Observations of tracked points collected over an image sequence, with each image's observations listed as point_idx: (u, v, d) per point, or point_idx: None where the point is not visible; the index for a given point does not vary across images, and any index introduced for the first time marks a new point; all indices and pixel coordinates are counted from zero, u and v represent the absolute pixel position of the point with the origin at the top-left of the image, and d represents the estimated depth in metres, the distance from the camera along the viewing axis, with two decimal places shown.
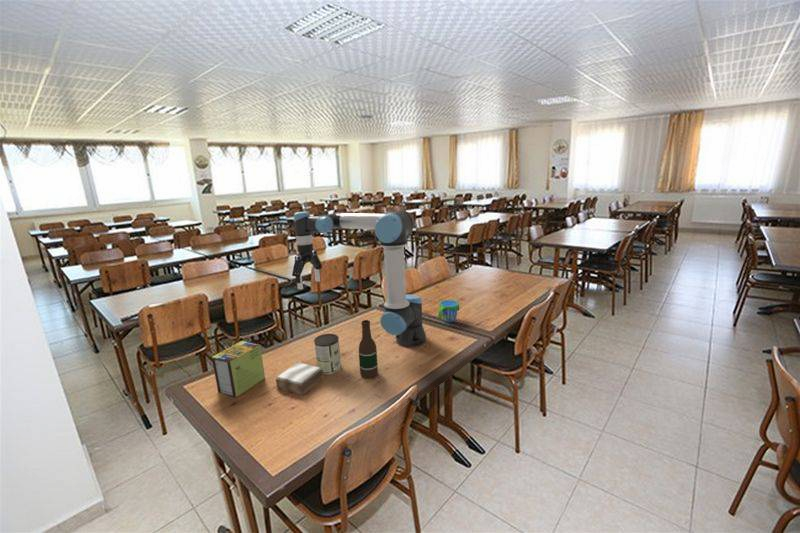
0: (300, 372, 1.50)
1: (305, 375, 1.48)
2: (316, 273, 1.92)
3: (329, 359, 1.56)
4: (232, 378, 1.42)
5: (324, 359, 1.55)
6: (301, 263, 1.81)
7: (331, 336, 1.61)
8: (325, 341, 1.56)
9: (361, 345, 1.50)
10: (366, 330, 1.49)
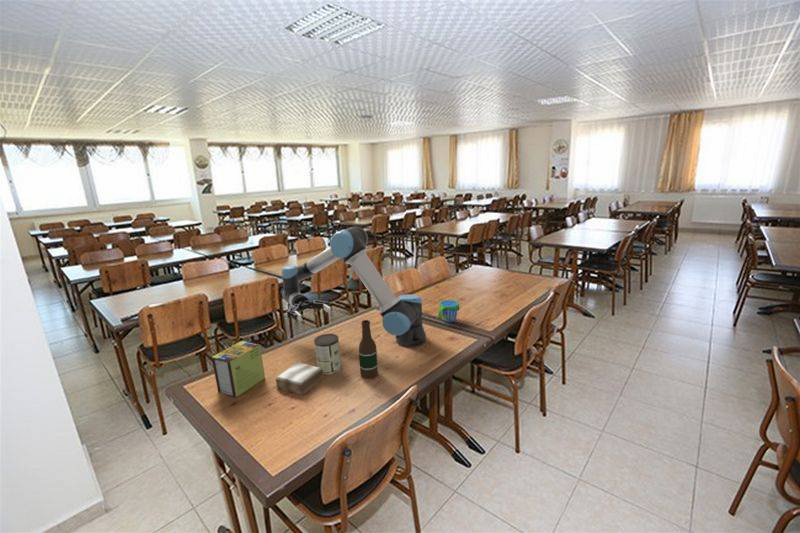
0: (300, 372, 1.50)
1: (305, 375, 1.48)
2: (325, 308, 1.71)
3: (329, 359, 1.56)
4: (232, 378, 1.42)
5: (324, 359, 1.55)
6: None
7: (331, 336, 1.61)
8: (325, 341, 1.56)
9: (361, 345, 1.50)
10: (366, 330, 1.49)
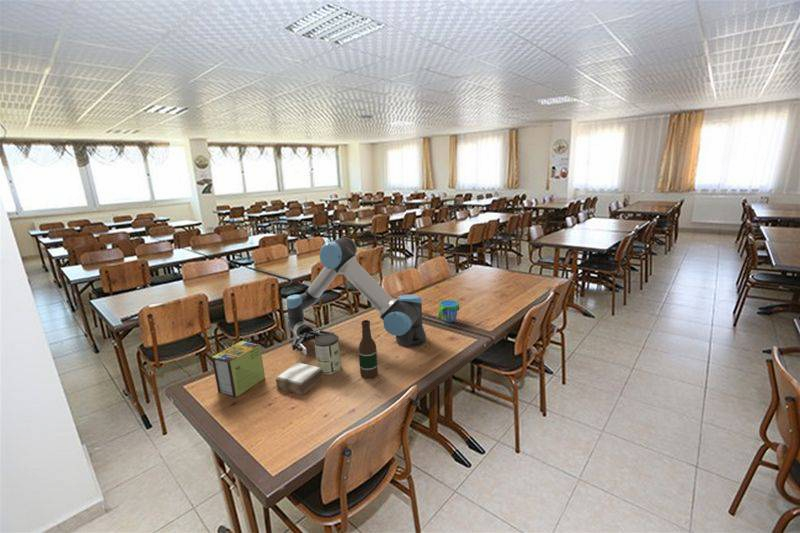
0: (300, 372, 1.50)
1: (305, 375, 1.48)
2: None
3: (329, 359, 1.56)
4: (232, 378, 1.42)
5: (324, 359, 1.55)
6: None
7: (331, 336, 1.61)
8: (325, 341, 1.56)
9: (361, 345, 1.50)
10: (366, 330, 1.49)
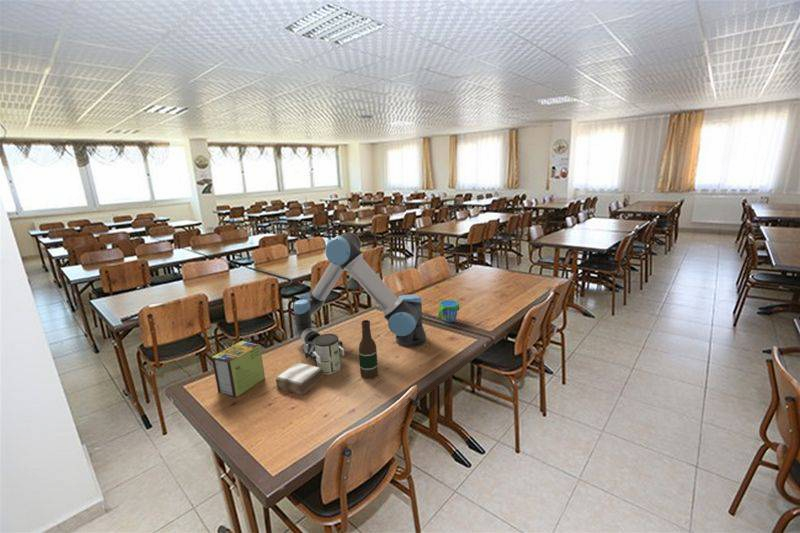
0: (300, 372, 1.50)
1: (305, 375, 1.48)
2: None
3: (329, 359, 1.56)
4: (232, 378, 1.42)
5: (324, 359, 1.55)
6: None
7: (331, 336, 1.61)
8: (325, 341, 1.56)
9: (361, 345, 1.50)
10: (366, 330, 1.49)
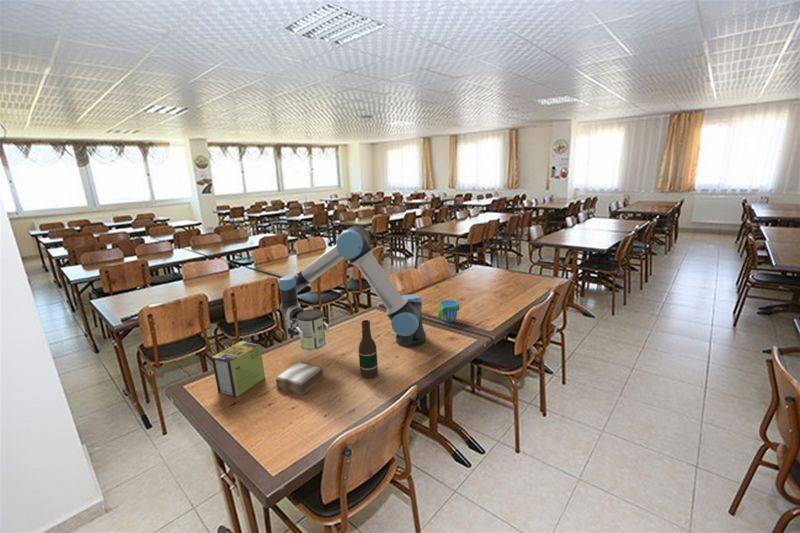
0: (300, 372, 1.50)
1: (305, 375, 1.48)
2: None
3: (312, 335, 1.49)
4: (232, 378, 1.42)
5: (307, 334, 1.49)
6: None
7: (315, 311, 1.54)
8: (309, 316, 1.49)
9: (361, 345, 1.50)
10: (366, 330, 1.49)
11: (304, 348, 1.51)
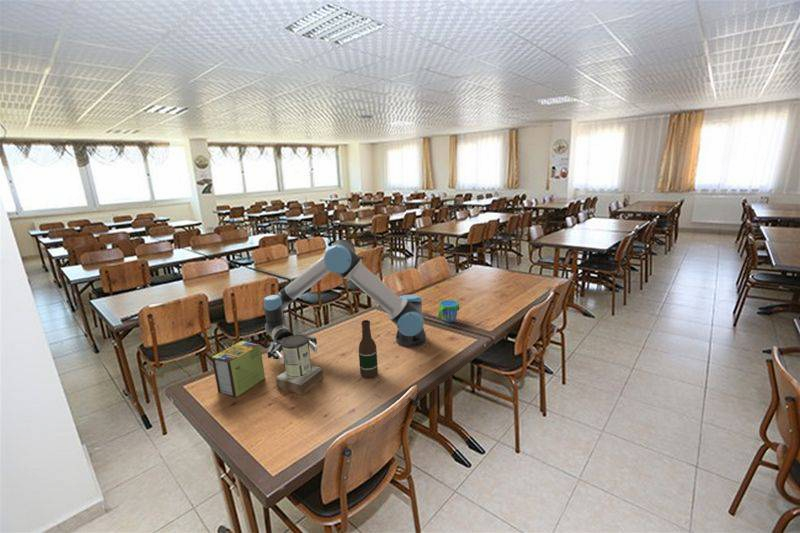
0: None
1: None
2: (311, 346, 1.52)
3: (297, 362, 1.44)
4: (232, 378, 1.42)
5: (292, 362, 1.44)
6: None
7: (301, 337, 1.49)
8: (293, 343, 1.44)
9: (361, 345, 1.50)
10: (366, 330, 1.49)
11: (289, 376, 1.46)
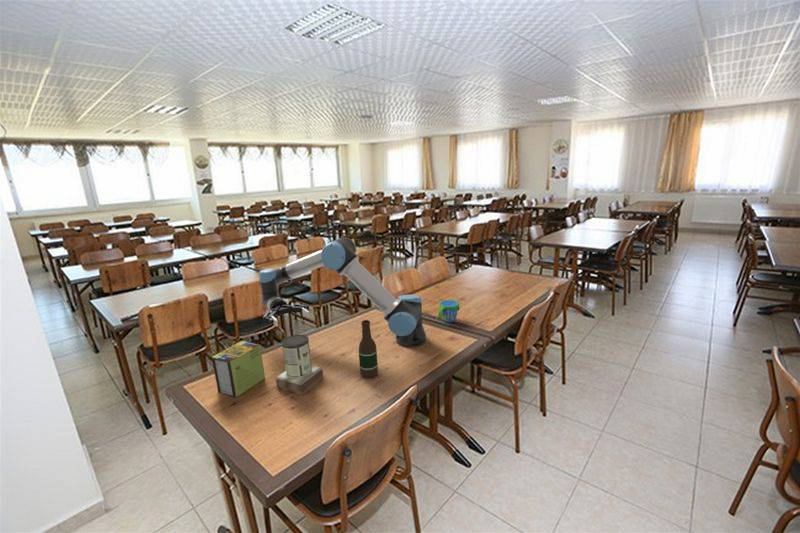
0: None
1: None
2: (304, 312, 1.64)
3: (297, 362, 1.44)
4: (232, 378, 1.42)
5: (292, 362, 1.44)
6: None
7: (301, 337, 1.49)
8: (294, 343, 1.44)
9: (361, 345, 1.50)
10: (366, 330, 1.49)
11: (289, 376, 1.46)
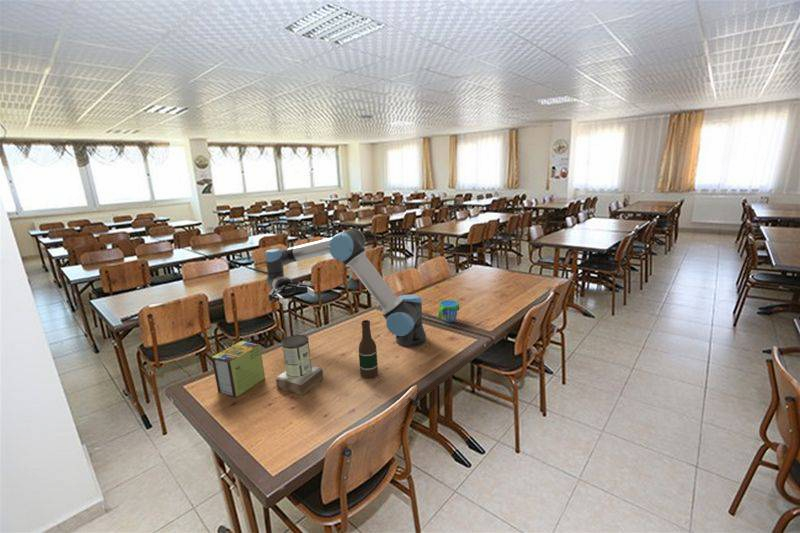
0: None
1: None
2: (309, 291, 1.64)
3: (297, 362, 1.44)
4: (232, 378, 1.42)
5: (292, 362, 1.44)
6: None
7: (301, 337, 1.49)
8: (294, 343, 1.44)
9: (361, 345, 1.50)
10: (366, 330, 1.49)
11: (289, 376, 1.46)
